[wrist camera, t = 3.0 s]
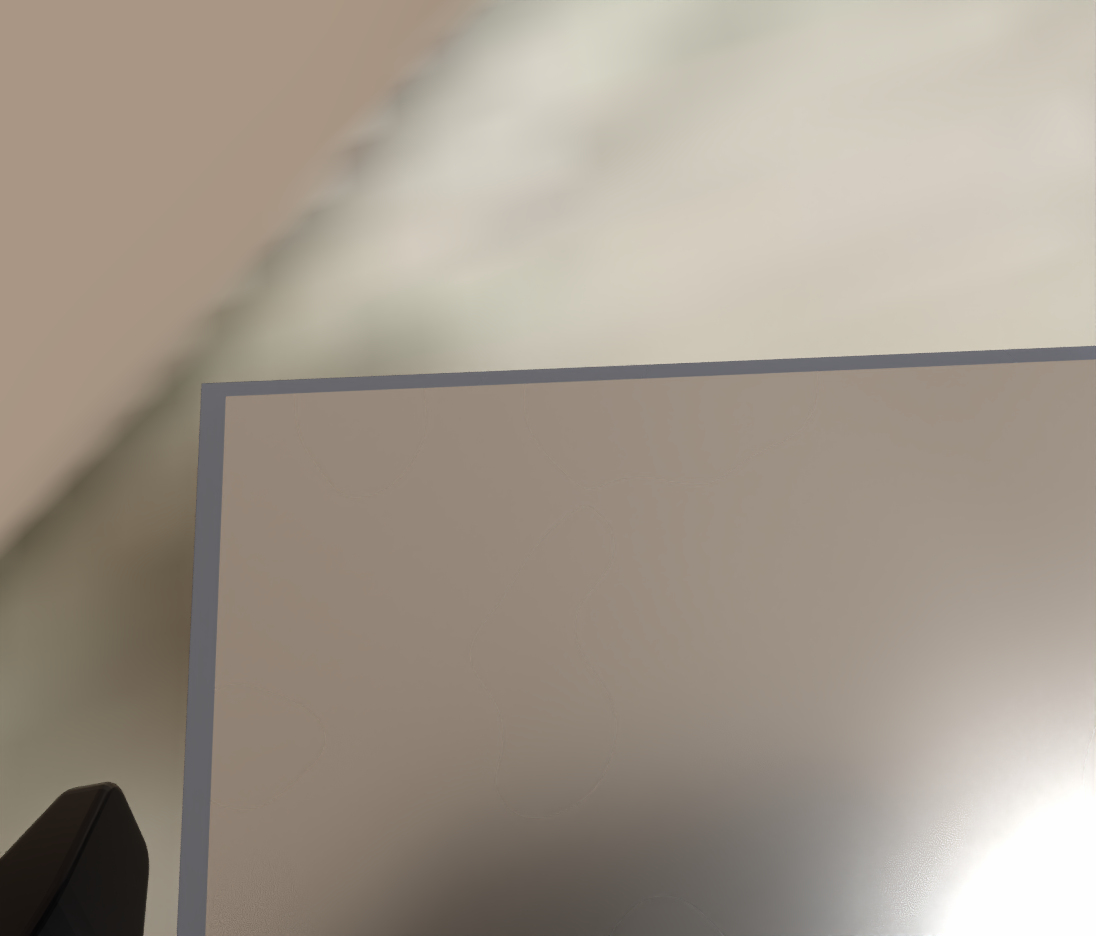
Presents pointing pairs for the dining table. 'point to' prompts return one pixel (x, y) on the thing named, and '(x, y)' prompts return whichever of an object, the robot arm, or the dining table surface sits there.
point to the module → (647, 651)
